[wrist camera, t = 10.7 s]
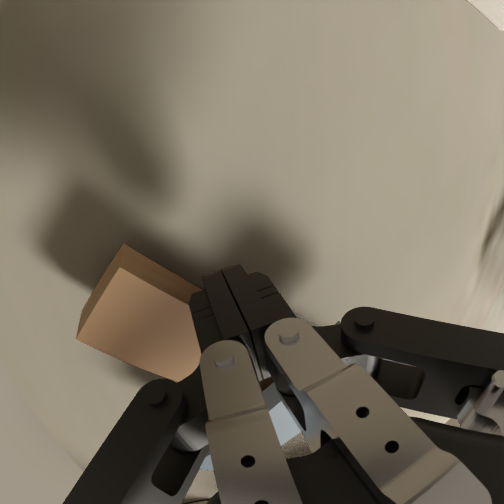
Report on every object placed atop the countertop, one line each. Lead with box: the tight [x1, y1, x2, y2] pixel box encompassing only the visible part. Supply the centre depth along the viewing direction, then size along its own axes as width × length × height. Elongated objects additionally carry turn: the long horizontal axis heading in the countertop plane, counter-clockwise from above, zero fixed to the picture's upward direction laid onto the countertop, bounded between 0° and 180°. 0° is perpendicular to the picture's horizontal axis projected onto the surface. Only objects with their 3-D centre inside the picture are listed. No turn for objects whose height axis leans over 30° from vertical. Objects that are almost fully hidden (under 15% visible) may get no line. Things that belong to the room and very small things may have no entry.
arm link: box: [76, 243, 274, 392], centre depth 17 cm, size 24×5×2 cm, turn 47°
